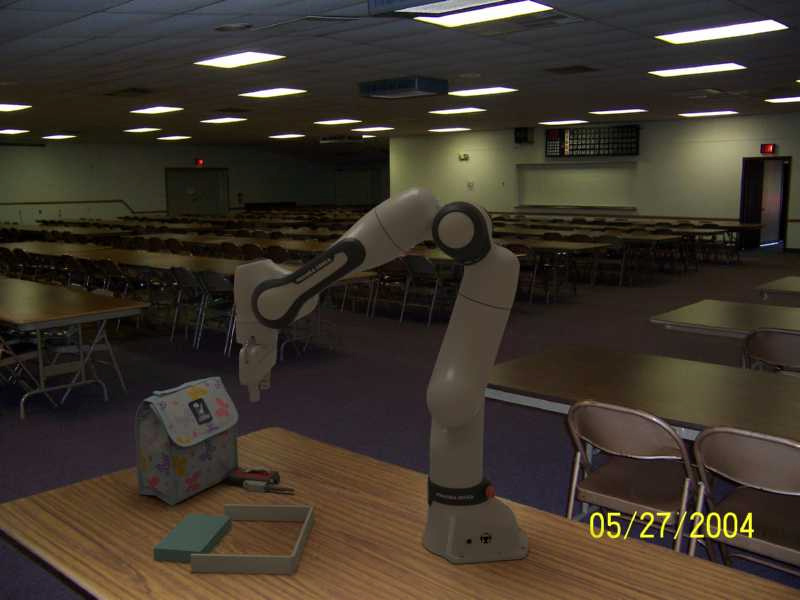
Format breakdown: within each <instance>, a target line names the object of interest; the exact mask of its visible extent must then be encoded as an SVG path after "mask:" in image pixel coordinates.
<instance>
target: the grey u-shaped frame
mask: <svg viewBox="0 0 800 600" xmlns="http://www.w3.org/2000/svg"><path fill="white" fill-rule="evenodd" d="M224 516H231V521H262V522H263V521H264V522H268V521H269V522H270V521H271V522H304V523H303V525H302V528H301V530H300V533H299V535H298V538H297V540H296V543H295V546H294V548H293V551H292V553H291V555H273V554H271V555H270V554H269V555H265V554H263V555H262V554H260V555H259V554H258V555H257V554H228V553H227V554H226V553H225V554H223V553H221V554H220V553H219V554H217V553H209V554H191V563H190V565H191V566H190V568H191V569H190V570H191V572H192V573H216V574H217V573H221V574H222V573H223V574H225V573H226V574H260V575H262V574H267V575H270V574H271V575H295V573H296V570H297V568H298V565H299V562H300V560H301V557H302V554H303V552H304V549H305V546H306V543H307V542H308V538H309V535H310V533H311V531H312V530H311V529H312V527H313V525H314V522H315V506H314V505H290V504H289V505H284V504H281V505H280V504H279V505H278V504H239V503H235V504H234V503H231V504H230V503H229V504H227V503H226V504H224Z"/></svg>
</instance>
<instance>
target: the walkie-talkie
mask: <svg viewBox="0 0 800 600" xmlns="http://www.w3.org/2000/svg"><path fill="white" fill-rule="evenodd" d="M280 480H281V475H280V474H279V471H278V470H272V469H271V467H268V466H262V465H261V466H260V465H256V466H254V467H253V468H252V467H251V468H250V467H248V466H247V465H246V466H244V467H239V466H238V467H237V468H236V469H234V470H233V471H232V472H231V473H229V478H226V479H224V481H223V483H225V484H228V485H230V486H233V487H242V488H245V489H246V490H247V491H249V492H256V493H262V494H264V493H265V492H266V491H268V492H269V491H272V492H274V491H275V492H280V493H284V492H290V493H291V492H292V493H295V488H291V487H281V486H274V485H275V484H277V483H280Z"/></svg>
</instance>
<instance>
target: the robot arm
mask: <svg viewBox="0 0 800 600" xmlns="http://www.w3.org/2000/svg"><path fill="white" fill-rule="evenodd" d="M494 229H495V228H494V221H493V218H492V216H491V215H490V213H489V212H488V209H486V208H485V207H483V206H481V205H480V204H478V203H476V202H473V201H471V200H458V201H451V202H449V203H446V204H442V203H441V202H440V201H439V200H438V199H437V198H436V196H435V195H434V194H433V192H432V191H430V190H429V189H427V188H425V187H423V186H419V185H418V186H412V187H409V188H407V189H405V190H403V191H400V192H398V193H396V194H394V195H392V196H391V197H389V198H387V199H386V200H384V201H382V202H381V203H380V204H378V205H376V206H375V207H373V208H372V209H371V210H370V211H368V212H367V213H365V214H364V215H363V216H362V217H361V218H360V219H359V220H357V221H356V222H355V223H354V224H353V225H352V226H351V227H350V228H349V229H348V230H347V231H346V232H345V233H344V234H343V235H342V236H341V237H339V238H338V239H337V240H335V242H334V243H332V245H331V246H329V247H328V248H327V249H326V250H325V251H323V252H322V253H320V254H319V255H317V256H315V257H314V258H313V259H311V260H310V261H308V262H306V263H305V264H304V265H302V266H301V267H299V268H297V269H296V270H295V271H293V270H292V271H291V270H289V269H287V268H284V267H282V266H281V265H278V264H276V263H275V262H274V261H273V260H272V259H270V258H267V257H263V258H257V259H253V260H246V261H243V262H241V263H240V264H238V265H237V266H236V268H235V272H234V280H233V294H234V295H233V299H234V303H235V307H236V316H235V334H236V336H235V337H236V342H237V343H238V344H241V345H242V348H241V349H240V350H239V356H238V371H239V372H238V374H239V375H238V376H239V377H238V378H239V382H240V385H242V386H246V387H247V389H248V393H249V400H250V401H251V402H258V401H259V400H260V399H261V394H260V393H261V392H260V390H259V385H260V389H261V390H265V391H266V390H268V389H269V388H270V379H271V378H270V377H271V372H272V371H271V369H272V368H273V367H274V366H275V365H276V362H277V357H278V355H277V354H278V339H279V338H278V337H279V336H278V335H279V334H280V329H284V328H286V327H288V326H289V325H290V324H292V323H293V322H295V321H297V320H300V319H301V318H302V319H303V317H305V316H308V315H309V314H310V313H312V312H313V311H315V309H316V308H317V306H318V303H319V300H320V293H322V292H323V291H324V290H325V291H326V289H328V288H330V286H332V285H333V284H336V283H337V282H338V281H340V280H342V279H344V278H346V277H348V276H351V275H354V274H357V273H360V272H363V271H367V270H370V269H374V268H377V267H380V266H382V265H385V264H388V263H389V262H391V261H393V260H395V259H397V258H399V257H400V256H401V255H403V254H404V253H406V252H408V251H409V250H411V249H412V248H414V247H415V246H416V245H418V244H419V243H422V242H425V241H426V240H433V243H434V244H435V246H436V247H437V248H438V249H439V250H440V252H442V253H443V254H445V255H446V256H447V257H449V258H451V259H452V260H453V261H455V262H456V263H458V264H459V265H461V266H463V268H464V269H463V276H462V280H461V283H460V286H459V289H458V292H457V295H456V296H457V297H456V299H455V303H454V305H453V309H452V313H451V315H450V320H449V322H448V325H447V329H446V331H445V335H444V337H443V340H442V343H441V346H440V350H439V352H438V356H437V358H436V362H435V365H434V368H433V370H432V373H431V376H430V380H429V383H428V386H427V389H426V403H427V404H426V405H427V407H428V411H429V413H430V415H431V427H430V438H429V475H428V476H427V482H426V501H427V504H428V507H427V516H426V521H425V526H424V531H423V534H422V536H421V543H422V545H423V547H424V548H425V549H427V550H428V551H429V552H431V553H433V554H435V555H438V556H440V557H443V558H445V559H446V560H448V561H449V562H450V563H452V564H457V565H458V564H459V565H460V564H471V563H485V562H495V561H496V562H497V561H509V560H520V559H521V560H522V559H524V558H525V557H527V555H528V553H529V552H530V542H529V537H528V535H527V533H526V531H525V530H524V529H523V527H521V526H519V525H518V521H517V517H516V515H515V512H514V511H513V509H512V508H511V507H510V506H509V505H507V504H506V503H504V502H503V501H502V500H500V499H499V498H498V497H496V488H495V487H494V486H493V483H492V481H491V480H490V477H489V475H486V477H485V476H483V468H484V466H483V461H484V460H483V457H484V455H483V454H484V431H485V430H484V428H485V427H484V426H485V425H484V423H485V402H486V401H485V400H486V399H485V397H486V390H487V388H488V385H489V380H490V378H491V374H492V370H493V367H494V365H495V361H496V358H497V355H498V351H499V348H500V344H501V343H502V342H501V341H502V338H503V335H504V332H505V329H506V326H507V324H508V323H507V322H508V321H509V317H510V313H511V310H512V308H513V305H514V301H515V297H516V293H517V287H518V283H519V276H520V265H521V264H520V261H519V258H518V257H517V255H516V254H515V253H514V252H513V251H511V250H510V249H508V248H507V247H503V246H501V245H498V244H497V243H495V241H494V239H493V236H494V231H495V230H494Z"/></svg>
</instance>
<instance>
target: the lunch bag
mask: <svg viewBox="0 0 800 600" xmlns="http://www.w3.org/2000/svg"><path fill="white" fill-rule="evenodd" d="M152 394H153V395H152V396H151V395H150V396H149V397H147V398H145V399H143V401H142V402H141V403H140V404H139V406H138V408H137V410H136V413H135V420H134V432H135V433H134V434H135V435H134V436H135V450H136V453H135V454H136V475H137V477H136V478H137V488H138V493H139V494H142V495H144V496H156V497H157V498H158V499H161V500H162V501H163V502H165V503H167V504H169V505H170V506H176V504H179V503H180V502H182V501H184V500H186V499H188V498H191V497H192V496H194V495H197V494H198V493H200V492H202V491H204V490H206V489H208V488H211V487H212V486H215V485H217V484H219V483H222V482H224V479H226V478H229V473H231V472H232V471H233V470H234V469H236V468H237V467H239V454H238V453H239V452H238V450H239V449H238V446H239V445H238V433H237V423H238V421H239V413H238V409H237V408H236V405H235V403H234V401H233V400H232V399H231V397H230V395H229V393H228V392H227V390H226V387H225V386H224V383H223V381H222V379H221V377H220V376H212V377H211V376H210V377H207V378H202V379H197V380H192V381H188V382H185V383H182V384H181V385H179V386H177V387H174V388H170V389H166V390H162V391H161V390H160V391H159V390H155V391H152Z"/></svg>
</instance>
